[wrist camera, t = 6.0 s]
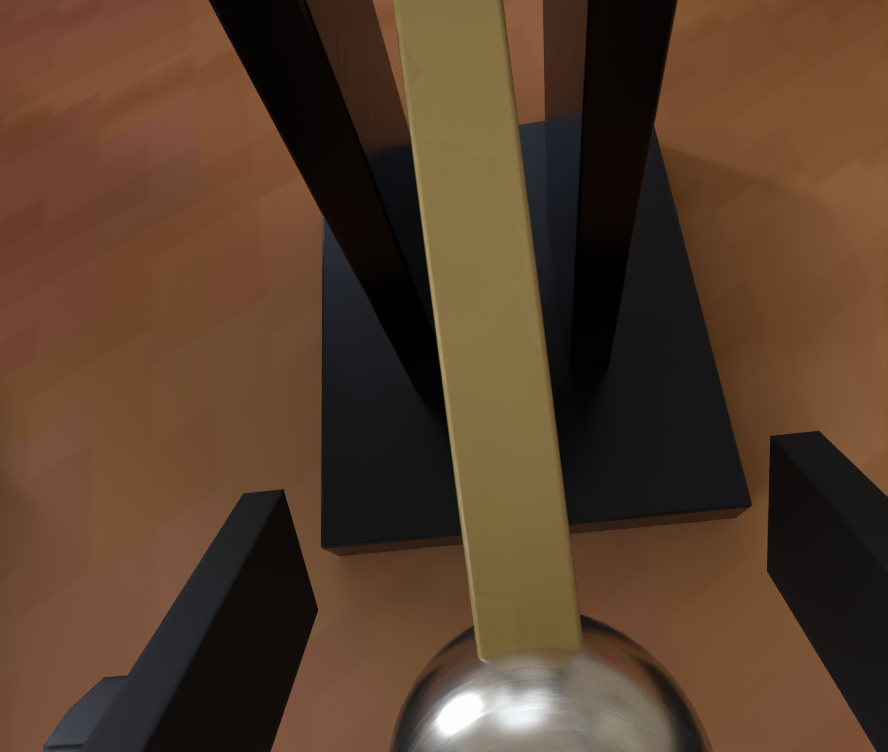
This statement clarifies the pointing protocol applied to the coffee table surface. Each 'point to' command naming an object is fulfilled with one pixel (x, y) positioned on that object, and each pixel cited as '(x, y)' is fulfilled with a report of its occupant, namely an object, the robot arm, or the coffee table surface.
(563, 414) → the bracket
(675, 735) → the silver ball pendulum
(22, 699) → the coffee table surface
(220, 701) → the robot arm
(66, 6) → the coffee table surface
